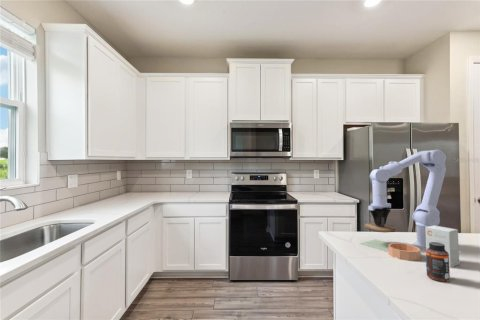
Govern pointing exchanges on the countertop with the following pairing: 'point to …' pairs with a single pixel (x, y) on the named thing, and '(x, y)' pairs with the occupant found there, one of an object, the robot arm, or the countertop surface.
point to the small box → (444, 241)
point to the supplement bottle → (437, 262)
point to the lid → (381, 227)
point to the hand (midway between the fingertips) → (380, 224)
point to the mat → (377, 244)
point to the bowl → (404, 251)
